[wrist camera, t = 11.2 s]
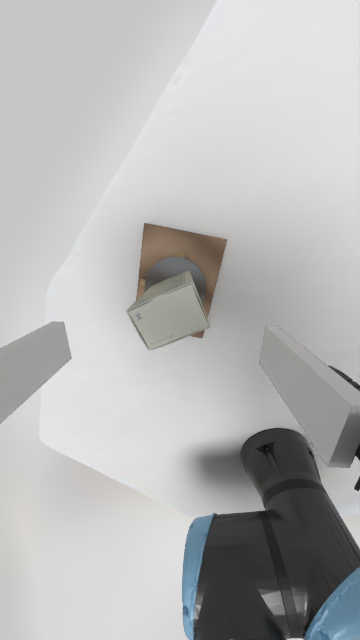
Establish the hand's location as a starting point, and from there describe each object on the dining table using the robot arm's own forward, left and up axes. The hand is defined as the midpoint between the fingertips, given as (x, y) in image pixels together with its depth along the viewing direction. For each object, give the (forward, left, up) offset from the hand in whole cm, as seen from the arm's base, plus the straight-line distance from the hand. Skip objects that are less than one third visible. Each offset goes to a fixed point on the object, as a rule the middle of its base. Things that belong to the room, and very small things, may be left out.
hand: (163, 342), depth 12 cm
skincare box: (0, 0, -16) cm, 16 cm away
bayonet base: (0, 0, -20) cm, 20 cm away
